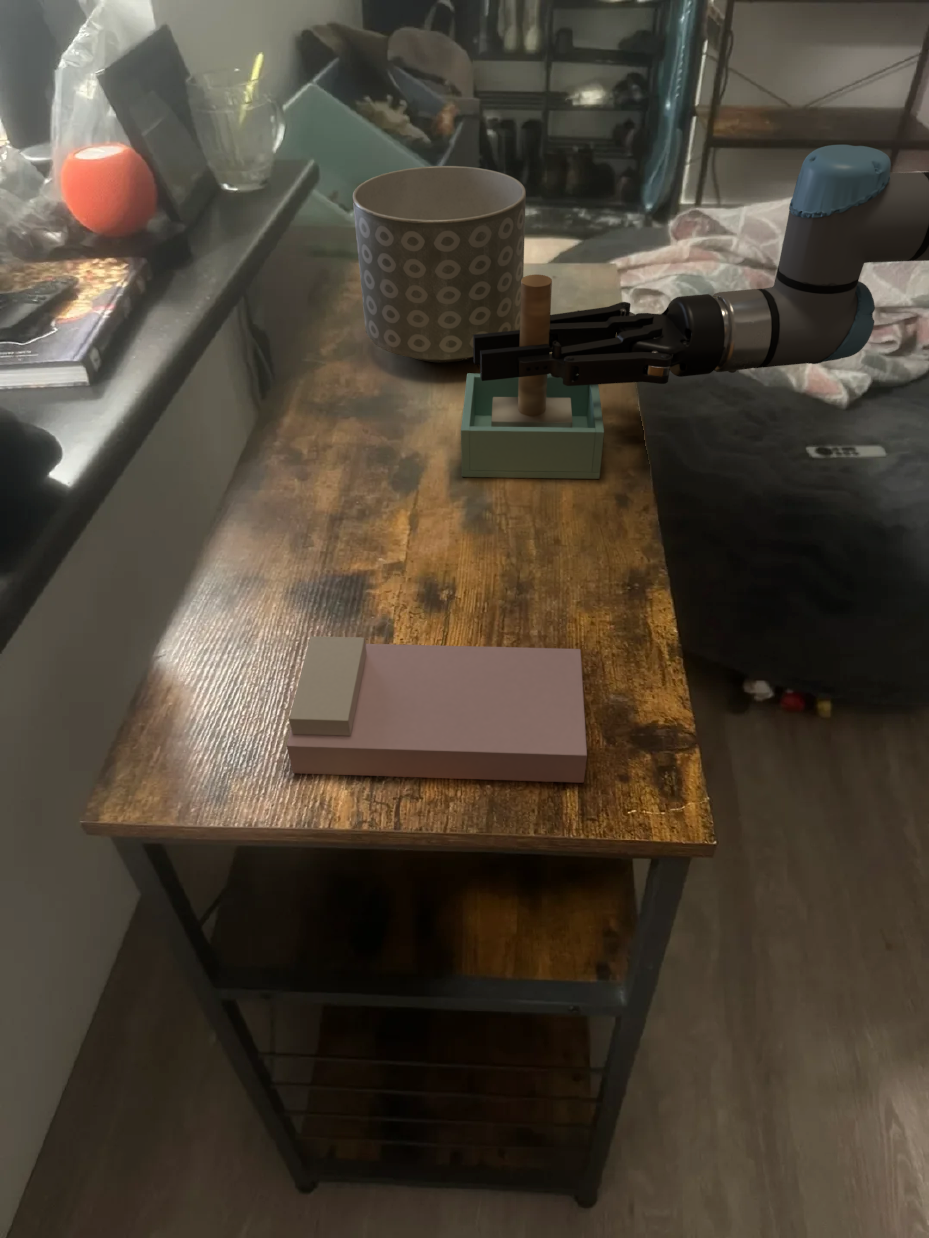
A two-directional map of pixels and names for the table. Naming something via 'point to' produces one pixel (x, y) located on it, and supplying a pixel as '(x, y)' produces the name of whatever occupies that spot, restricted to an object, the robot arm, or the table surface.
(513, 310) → the planter
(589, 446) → the green open box
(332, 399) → the table surface
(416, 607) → the table surface
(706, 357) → the robot arm
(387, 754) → the bed
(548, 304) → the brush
